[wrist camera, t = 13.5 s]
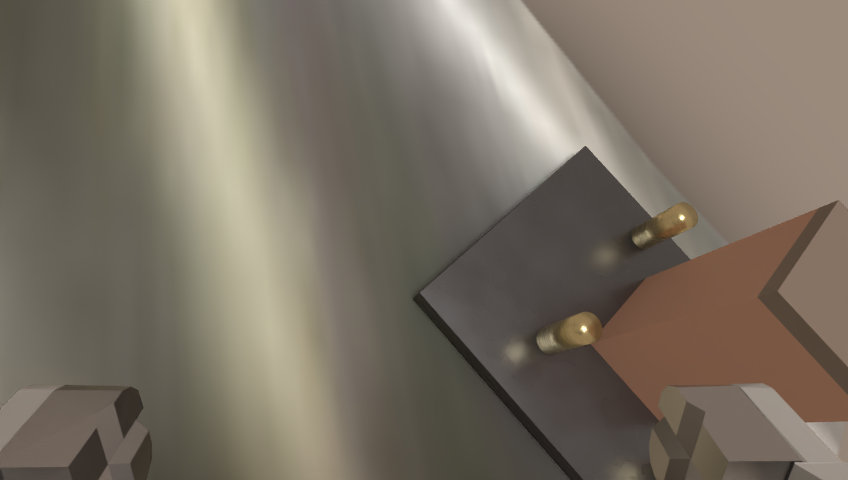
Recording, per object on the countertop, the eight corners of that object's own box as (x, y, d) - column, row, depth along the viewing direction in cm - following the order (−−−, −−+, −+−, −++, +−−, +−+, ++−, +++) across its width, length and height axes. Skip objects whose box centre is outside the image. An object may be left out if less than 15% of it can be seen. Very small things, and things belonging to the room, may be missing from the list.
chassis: (412, 298, 27) (443, 273, 23) (574, 155, 33) (621, 113, 29) (647, 566, 26) (723, 591, 22) (770, 368, 32) (848, 357, 28)
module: (589, 343, 28) (777, 291, 18) (645, 278, 30) (838, 199, 20) (663, 426, 27) (896, 419, 18) (714, 353, 30) (945, 311, 20)
